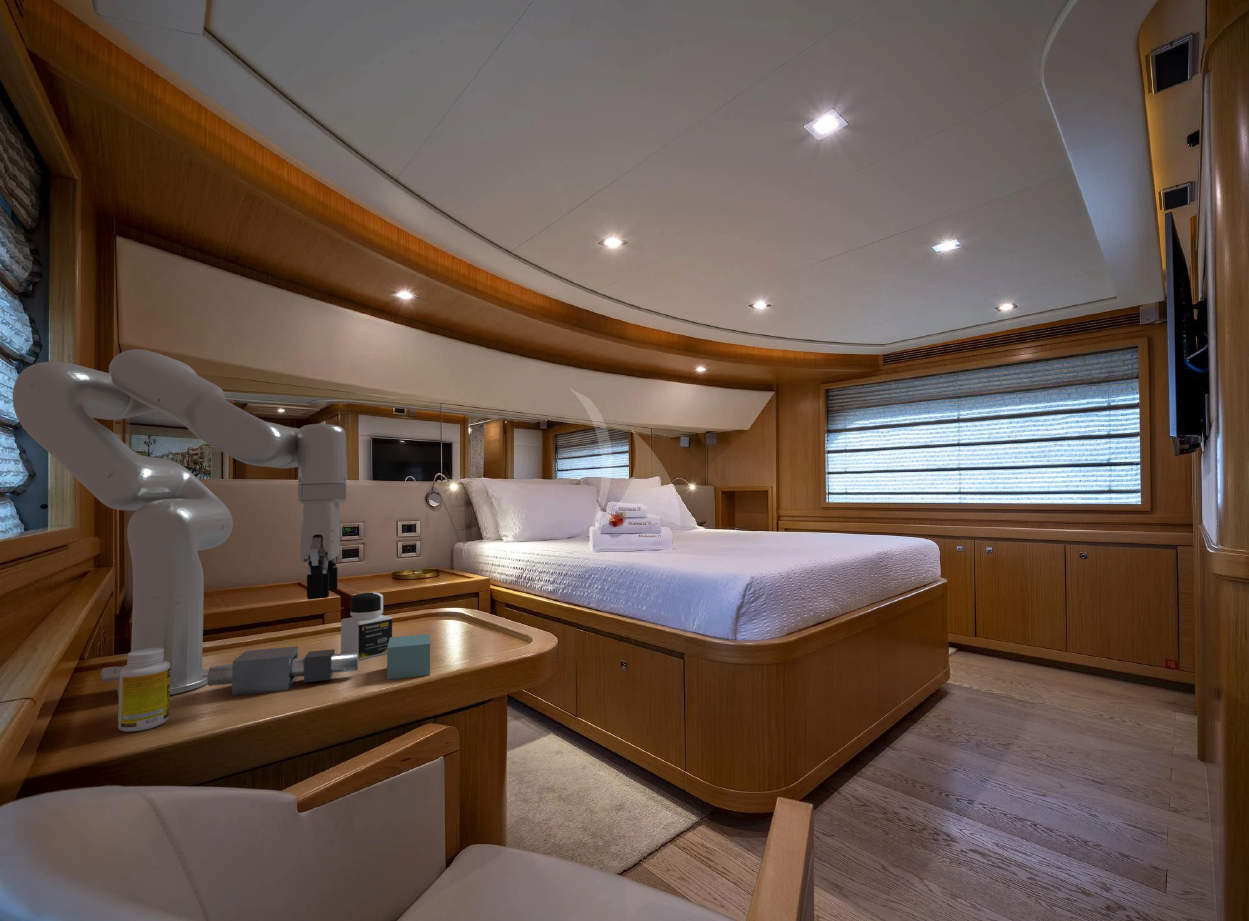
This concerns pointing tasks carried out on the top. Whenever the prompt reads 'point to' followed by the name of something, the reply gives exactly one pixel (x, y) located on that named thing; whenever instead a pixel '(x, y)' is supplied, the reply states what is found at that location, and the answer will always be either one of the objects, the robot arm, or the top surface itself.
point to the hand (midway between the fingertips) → (323, 594)
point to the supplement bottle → (144, 690)
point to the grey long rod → (299, 667)
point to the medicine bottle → (366, 627)
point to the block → (408, 656)
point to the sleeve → (263, 671)
